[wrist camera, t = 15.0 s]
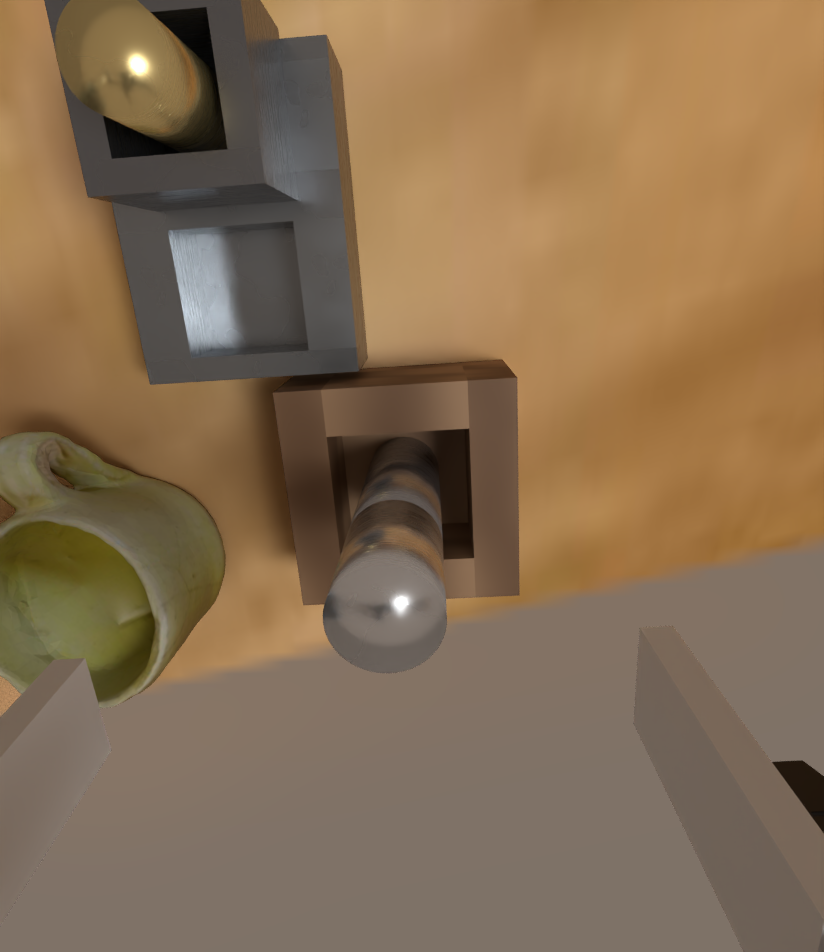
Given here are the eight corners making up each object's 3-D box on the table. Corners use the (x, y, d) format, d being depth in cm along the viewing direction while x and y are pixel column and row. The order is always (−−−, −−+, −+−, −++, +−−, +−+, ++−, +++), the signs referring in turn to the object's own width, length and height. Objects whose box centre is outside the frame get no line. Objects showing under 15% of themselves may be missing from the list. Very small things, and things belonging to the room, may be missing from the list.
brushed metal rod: (373, 504, 30) (330, 675, 17) (367, 439, 29) (316, 567, 16) (440, 500, 30) (450, 670, 17) (436, 434, 29) (443, 560, 16)
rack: (321, 556, 33) (303, 605, 28) (297, 372, 29) (272, 392, 25) (505, 547, 32) (519, 595, 27) (502, 359, 29) (517, 377, 24)
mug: (267, 652, 32) (121, 756, 23) (120, 625, 36) (-58, 706, 27) (262, 426, 31) (103, 440, 21) (109, 421, 34) (-86, 430, 25)
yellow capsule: (177, 166, 22) (70, 122, 16) (162, 78, 21) (41, -8, 15) (251, 159, 22) (176, 113, 15) (239, 71, 21) (153, -19, 14)
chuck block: (185, 369, 29) (87, 410, 21) (131, 80, 25) (-19, -16, 17) (367, 358, 29) (342, 394, 20) (340, 61, 25) (296, -46, 16)
